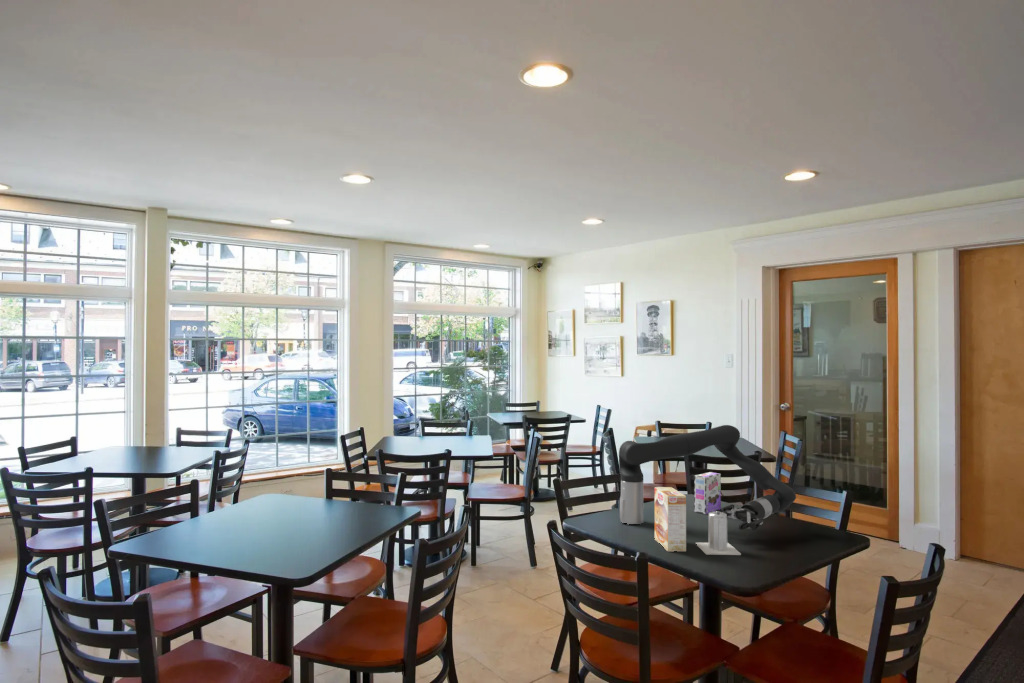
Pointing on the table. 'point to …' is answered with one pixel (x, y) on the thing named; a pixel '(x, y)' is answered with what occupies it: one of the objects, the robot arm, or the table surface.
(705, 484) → the candy box
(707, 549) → the white mat
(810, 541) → the table surface
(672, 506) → the coffeecake box
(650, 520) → the table surface
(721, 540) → the faceted metal canister
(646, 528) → the table surface
